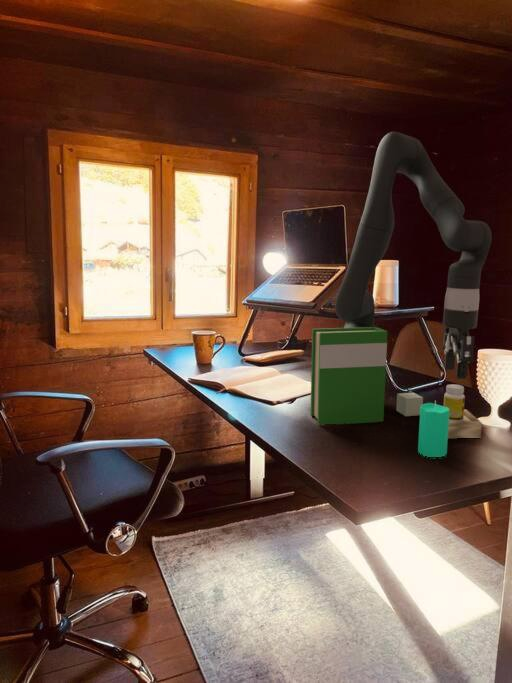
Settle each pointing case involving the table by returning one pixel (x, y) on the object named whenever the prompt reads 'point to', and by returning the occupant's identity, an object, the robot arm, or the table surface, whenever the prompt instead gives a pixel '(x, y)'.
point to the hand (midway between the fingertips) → (454, 373)
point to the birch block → (465, 427)
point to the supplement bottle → (455, 402)
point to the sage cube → (409, 404)
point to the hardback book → (348, 375)
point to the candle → (433, 430)
